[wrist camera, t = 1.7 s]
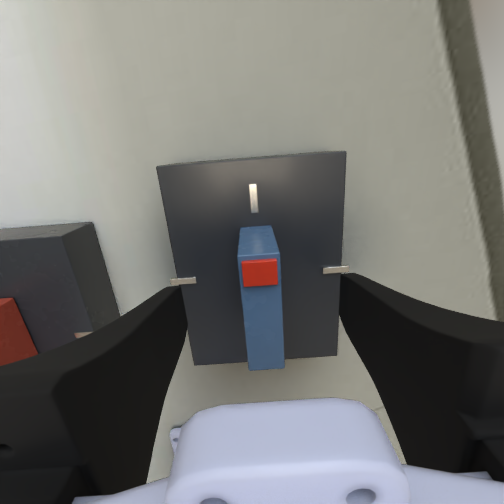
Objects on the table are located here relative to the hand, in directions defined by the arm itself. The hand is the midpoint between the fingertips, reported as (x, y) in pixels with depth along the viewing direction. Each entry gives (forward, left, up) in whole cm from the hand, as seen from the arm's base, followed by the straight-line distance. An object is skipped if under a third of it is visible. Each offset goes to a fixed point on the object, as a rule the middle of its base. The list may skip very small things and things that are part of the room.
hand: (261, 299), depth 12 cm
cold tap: (0, 0, -3) cm, 3 cm away
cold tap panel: (0, 0, -6) cm, 6 cm away
